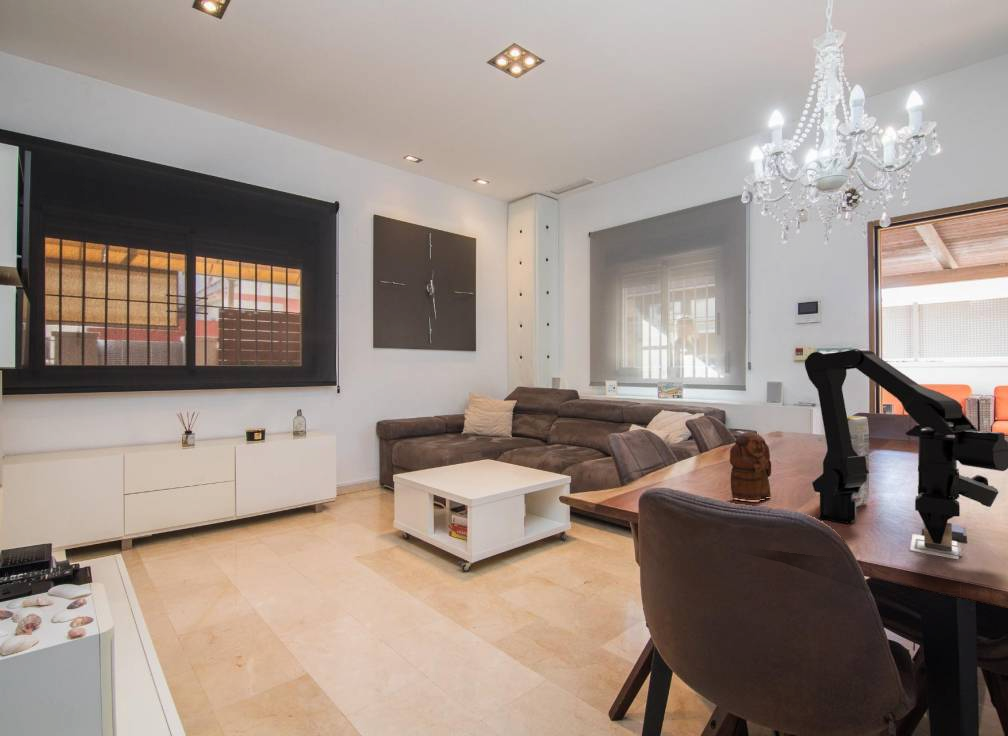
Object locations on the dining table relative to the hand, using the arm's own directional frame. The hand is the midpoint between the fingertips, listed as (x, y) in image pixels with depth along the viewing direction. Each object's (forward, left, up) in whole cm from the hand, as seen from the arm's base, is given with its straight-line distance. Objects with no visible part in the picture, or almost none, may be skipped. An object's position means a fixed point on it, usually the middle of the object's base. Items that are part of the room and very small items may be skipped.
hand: (937, 540), depth 98 cm
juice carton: (-18, +27, -2) cm, 32 cm away
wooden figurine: (-38, +16, -2) cm, 41 cm away
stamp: (0, 0, -1) cm, 1 cm away
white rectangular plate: (0, +1, -2) cm, 2 cm away
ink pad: (+1, +12, -2) cm, 12 cm away
